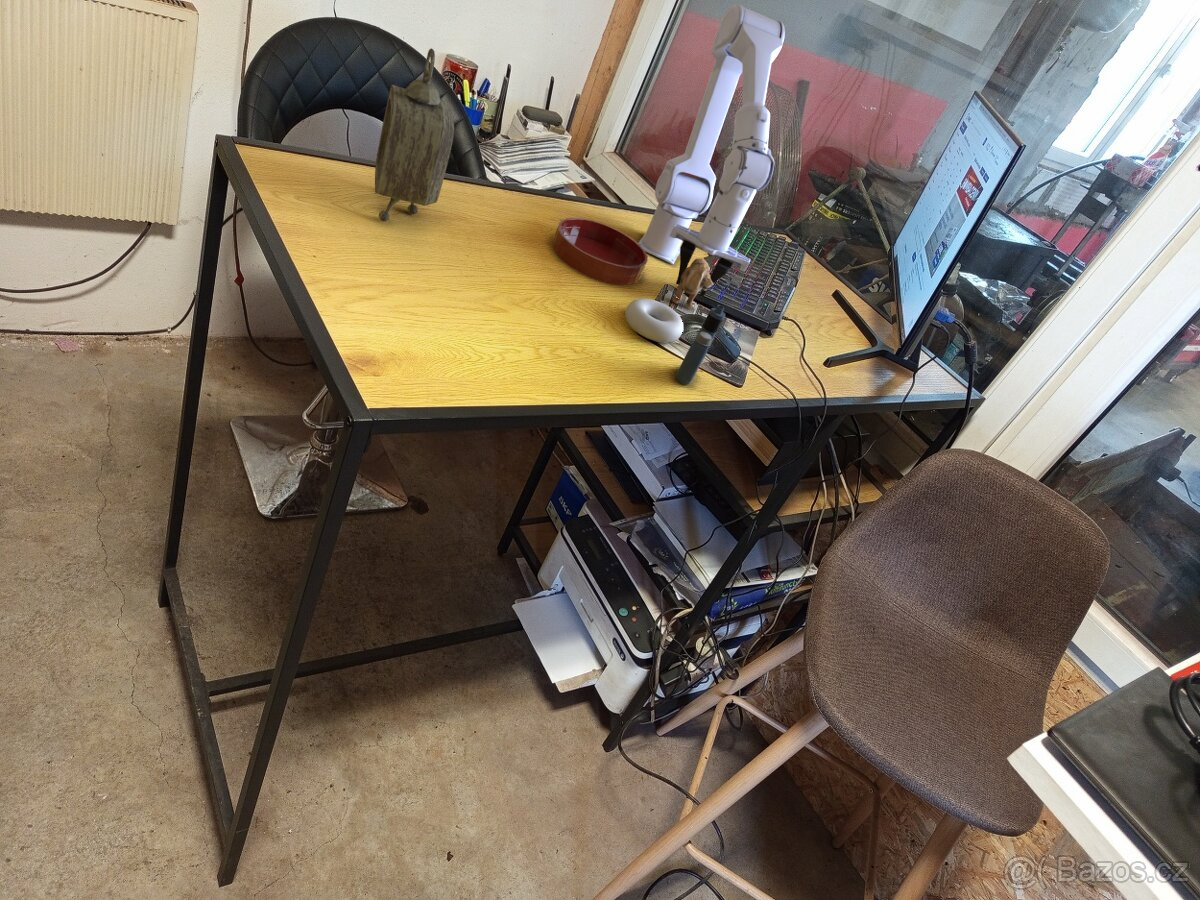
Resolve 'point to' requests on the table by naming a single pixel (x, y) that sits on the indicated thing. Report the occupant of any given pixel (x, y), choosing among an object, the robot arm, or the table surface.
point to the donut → (654, 320)
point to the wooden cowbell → (414, 144)
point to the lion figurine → (694, 280)
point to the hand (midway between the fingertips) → (690, 288)
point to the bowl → (599, 251)
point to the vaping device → (700, 345)
